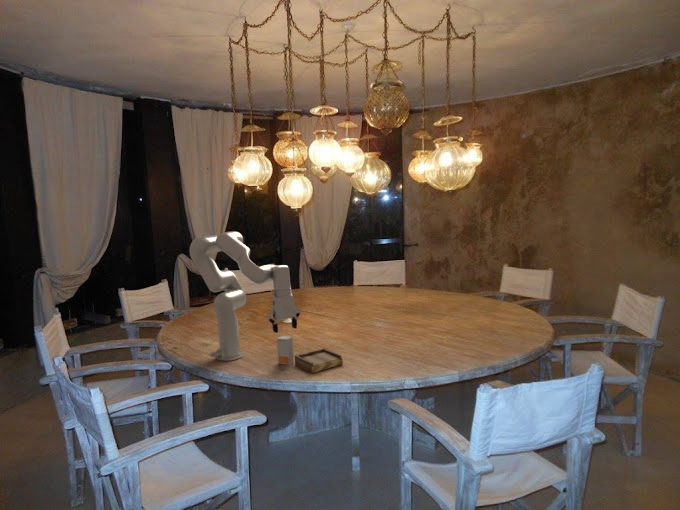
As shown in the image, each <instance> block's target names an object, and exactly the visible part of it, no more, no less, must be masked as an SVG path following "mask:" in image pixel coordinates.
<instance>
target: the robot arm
mask: <svg viewBox="0 0 680 510" xmlns="http://www.w3.org/2000/svg"><path fill="white" fill-rule="evenodd" d="M220 252H222V253H225V254H226V255H227V256H229V257H230V258H231V259H232V260H233V261H234V262H236V263H237V265H238V268H239V270H240V272H241V273H242V274H243V276H245V277H246V278H247V279H248V280H250V281H251V282H253V283H254V284H258V285H262V284H265V283H268V282H273V283H272V284H273V291H271V295H272V304H271V305H272V307H271V308H272V309H271V310H270V312H269V313H268V314H266V315H265V316H266V318H267V320H268V322H270V323H271V324H272V326H271V327H272V331H273V333H279V329H278V328H279V326H278V321H279V320H280V321H281V320H285V319H287V318H290V319H292V322H291V326H292V328H293V329H297V326H298V321H297V320H298V319H299V316H300V313H301V311H302V309H301V308H299V307H297V306H296V302H295V301H296V300H295V298H294V295H293V294H291V292H292V287H291V288H290V285H291V276H290V267H289V266H288V265H286V264H281V265H280V264H279V265H276V264H266V265H265V264H264V265H261V266H259V265H258V264H257V265H256V263H254V262H253V261H252V260H251V259H250V254H251V249H250V248H249V247H248V246H246V244H244V237H243V235H242V234H241V233H240V232H238V231H235V230H233V231H225V232H222V233H219V234H214V235H212V234H211V235H204V236H198V237H196V238H194V239H193V240H192V242H191V243H190V246H189V255H190V259H191V260H192V262H193V263H194V266H196V269H198V271H199V273H200V275H201V277H202V279H203V281H204V283H205V284H206V286H207V288H208V290H209V291H210V292H211V293H218V292H221V293H219V294H218V295H217V296H215V298H214V301H213V304H214V305H213V306H214V310H215V313H216V320H217V331H218V346H219V347H217V349H216V350H215V351H211V352H209V356H210V357H215V358H216V360H218V361H222V362H223V361H224V362H225V361H226V362H227V361H228V362H229V361H235V360H239V359H241V358H243V357H244V352H243V351H242V350H241V345H240V332H239V320H238V316H237V314H236V312H235V310H237V309H240V308H242V307H244V306H245V305H246V304H247V303H246V302H247V295H246V292H245V290H244V288H243V286H242V284H241V283H240V281H239V279H238V278H237V275H236V274H235V273H234V272H233V271H231V270H229V269H224V270H223V269H222V270H220V269H219V266H218V265H217V263H216V262H215V259H213V258H212V257H210V256H209V255H210V254H214V253H220ZM222 291H224V292H222Z"/></svg>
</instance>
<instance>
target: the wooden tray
mask: <svg viewBox="0 0 680 510" xmlns="http://www.w3.org/2000/svg"><path fill="white" fill-rule="evenodd" d="M343 360H344V359H343V358H342V355H341V354H340V353H337V352H334V351H332V350H329V349H328V348H325V347H324V348H319V349H315V350H313V351H307V352H304V353H299V354H296V355H294V365H296V366H297V367H299V368H301V369H303V370H305V371H307V372H309V373H311V374H315V373H318V372H320V371H324V370H325V371H326V370H327V369H332V368H335V367H338V365H339V366H342V365H343V364H344V363H343ZM331 367H332V368H331Z"/></svg>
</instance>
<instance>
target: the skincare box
mask: <svg viewBox="0 0 680 510" xmlns="http://www.w3.org/2000/svg"><path fill="white" fill-rule="evenodd" d="M276 343H277V344H276V345H277V347H276V349H277V363H278V364H279V365H280V364H281V365H288V366H290V365H291V364H293V363H294V347H293V344H294V343H293V337H292V336H288V335H287V336H285V335H281V336H278V337H277V338H276Z"/></svg>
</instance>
